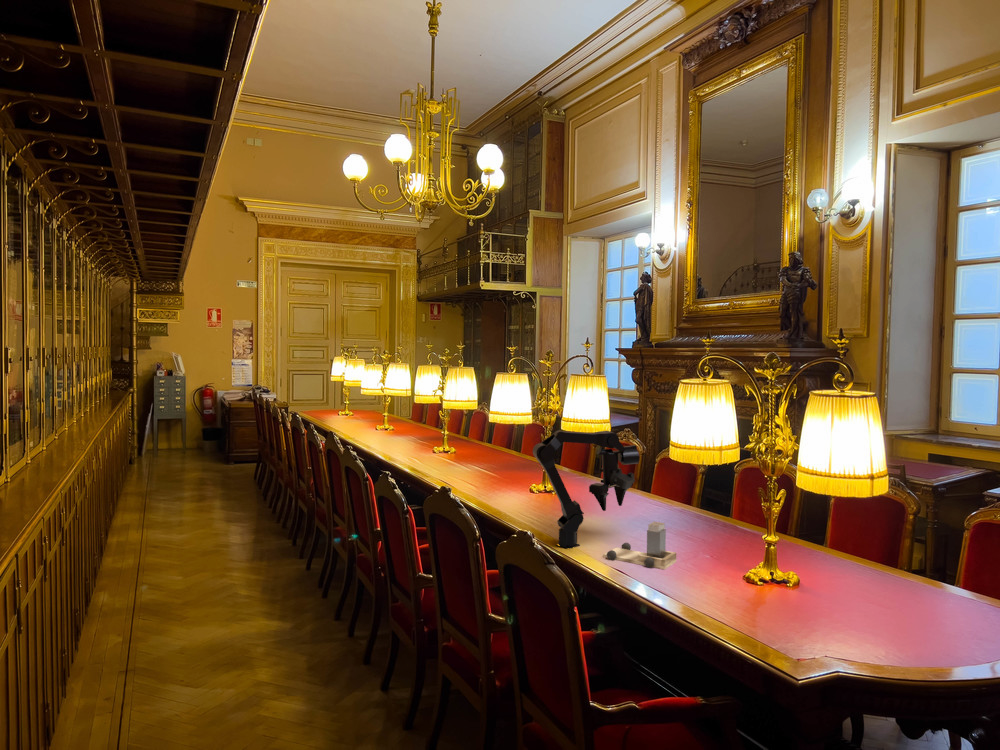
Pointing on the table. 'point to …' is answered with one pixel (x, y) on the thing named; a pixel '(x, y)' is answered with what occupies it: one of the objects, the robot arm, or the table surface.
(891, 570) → the table surface
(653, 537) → the grey rectangular block
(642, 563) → the chassis
